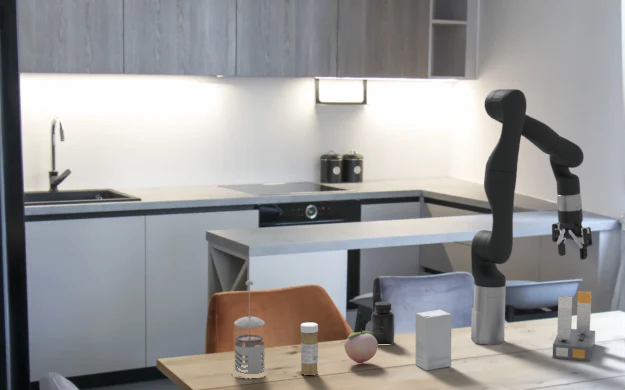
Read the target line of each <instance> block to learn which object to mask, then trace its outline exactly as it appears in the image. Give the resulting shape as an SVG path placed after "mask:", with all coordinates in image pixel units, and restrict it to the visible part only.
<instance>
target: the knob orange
mask: <svg viewBox="0 0 625 390" xmlns="http://www.w3.org/2000/svg"><path fill="white" fill-rule="evenodd" d="M576 304H577V307H576V309H577V310H576V329H577V332H576V333H583V334H590V330H591V309H592V306H591V305H592V291H583V290H578V291H577V303H576Z"/></svg>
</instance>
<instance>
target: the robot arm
mask: <svg viewBox="0 0 625 390" xmlns="http://www.w3.org/2000/svg"><path fill="white" fill-rule="evenodd" d="M484 110H485V112H486V114H487V116H489V117H490V118H491V119H493V120H494V121H496V122H499V123H501V125H502V126H501V132H500V137H499V139H498V140H497V143H496V145H495V146H494V147H493V150H492V152H491V153H490V154H489V157H488V159H487V161H486V163H485V168H484V169H485V170H484V181H483V187H484V188H483V189H484V193H485V196H486V199H487V201H488V204H489V206H490V209H491V210H490V211H491V214H492V228H491V230H487V229H482V230H479V231H478V232H476V233H475V234H474V236H473V238H472V241H471V245H470V246H471V247H470V258H471V259H470V261H471V274H472V277H473V307H472V308H471V321H470V322H471V325H470V328H471V329H470V331H471V333H470V339H471V341H473V342H474V343H475V344H479V345H480V344H481V345H487V346H488V345H489V346H490V345H491V346H492V345H494V346H496V345H501V344H504V343H505V326H506V325H505V322H506V321H505V320H506V315H505V314H506V289H507V288H506V286H507V285H506V280H507V278H506V276H505V274H503V273H502V272H501V271H500V270H499V269H498V267H497V265H502V264H505V263H506V262H508V261H509V259H510V257H511V255H512V251H513V245H514V236H513V235H514V226H513V225H514V223H513V222H514V221H513V220H514V206H515V203H514V202H515V193H516V192H515V191H516V185H517V176H518V175H517V174H518V163H519V153H520V145H521V139H522V137H524V139H526V140H527V141H529V142H530V143H531V144H533V145H534V146H535V147H536V148H537V149H539V150H540V151H541V152H543V153H544V154H547V155H549V156H548V157H549V163H550V164H549V165H550V167H551V170H552V173H553V176H554V179H555V181H556V207H557V208H556V209H557V219H558V220H557V221H558V222H556V223H555V222H554V223H552V224H551V240H552V242H554V243H556V244H557V250H558V255H559V256H561V257H563V256H566V254H567V253H566V243H565V242H566V241H567V240H572V241H575V243H576V244H577V245H578V246H579V259H580V260H586V259H587V258H588V248H589V247H592V246H593V239H592V230H591V229H592V228H591V227H590V226H588V227H587V226H586V227H583V224H582V223H583V221H584V217H583V204H582V203H583V200H582V196H581V183H580V178H579V176H578V175H577V174H574V173H573V172H571V170H570V168H571V169H574V168H577V167H580V166H581V165H582V164H583V162H584V158H585V157H584V156H585V155H584V152H583V149H582V148H581V147H580V146H579V145H578V144H576V143H575V142H573V141H571V140H569V139H568V138H565V137H563V136H561V135H560V134H558V132H556V131H555V130H554V129H553V128H551V127H550V126H549V125H547V124H546V123H544V122H543V121H540V120H538V119H536V118H534V117H532V116H531V115H528V114H526V113H527V99H526V96H525V94H524V92H523V91H522V90H520V89H518V88H517V89H516V88H515V89H514V88H513V89H512V88H511V89H509V88H507V89H501V88H499V89H495V90H492V91H490V92H489V93H488V94H487V95H486V96H485V99H484Z"/></svg>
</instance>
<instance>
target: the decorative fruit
mask: <svg viewBox="0 0 625 390" xmlns="http://www.w3.org/2000/svg"><path fill="white" fill-rule="evenodd" d="M371 334H372V335H371ZM373 335H374V334H373V333H372V332H371V331H370V330H363V329H362V328H360V331H359V332H352V333H350V334H349V335H348V337H347V338H346V340H345V342H344V351H345V353H346V355H347V356H348V357H349V359H351V360H352V361H353V362H355V363H356V364H358V363H362V364H363V363H365V362H368V361H370V360H372V358H373V357H374V356H375V355H376V353H377V351H378V348H379V347H378V346H379V345H378V344H377V340H376V339H375V337H374V336H373Z"/></svg>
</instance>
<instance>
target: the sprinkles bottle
mask: <svg viewBox="0 0 625 390" xmlns="http://www.w3.org/2000/svg"><path fill="white" fill-rule="evenodd" d="M318 332H319V325H318V323H316V322H312V321H311V322H302V323H301V324H300V333H301V335H300V336H301V343H300V345H301V346H300V362H301V366H300V369H301V370H300V373H302V374H305V375H314V374H316V375H318V374H317V373H319V371H318V363H319V362H318V361H319V360H318V357H319V350H318V349H319V348H318V347H319V344H318ZM302 374H301V375H302ZM305 375H304V376H305ZM314 376H315V375H314Z"/></svg>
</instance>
